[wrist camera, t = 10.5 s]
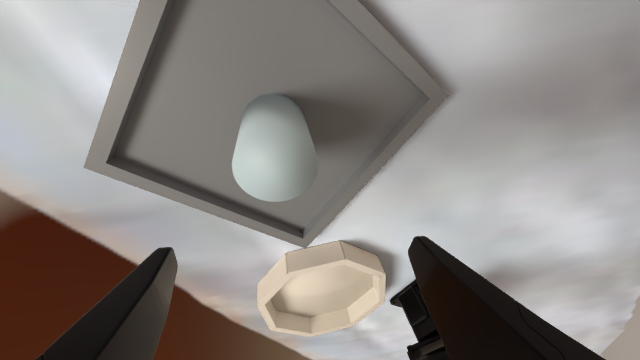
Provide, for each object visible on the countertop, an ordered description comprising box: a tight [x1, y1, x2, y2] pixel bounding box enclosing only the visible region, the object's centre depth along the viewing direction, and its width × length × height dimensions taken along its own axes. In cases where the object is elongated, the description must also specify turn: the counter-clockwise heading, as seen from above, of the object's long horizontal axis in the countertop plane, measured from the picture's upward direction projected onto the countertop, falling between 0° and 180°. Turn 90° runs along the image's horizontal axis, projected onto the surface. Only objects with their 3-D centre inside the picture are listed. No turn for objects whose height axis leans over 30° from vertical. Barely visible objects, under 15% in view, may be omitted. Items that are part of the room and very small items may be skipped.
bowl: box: [257, 241, 386, 337], centre depth 30 cm, size 15×15×2 cm
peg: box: [232, 94, 319, 202], centre depth 16 cm, size 4×4×6 cm
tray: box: [84, 0, 449, 248], centre depth 18 cm, size 18×18×2 cm
